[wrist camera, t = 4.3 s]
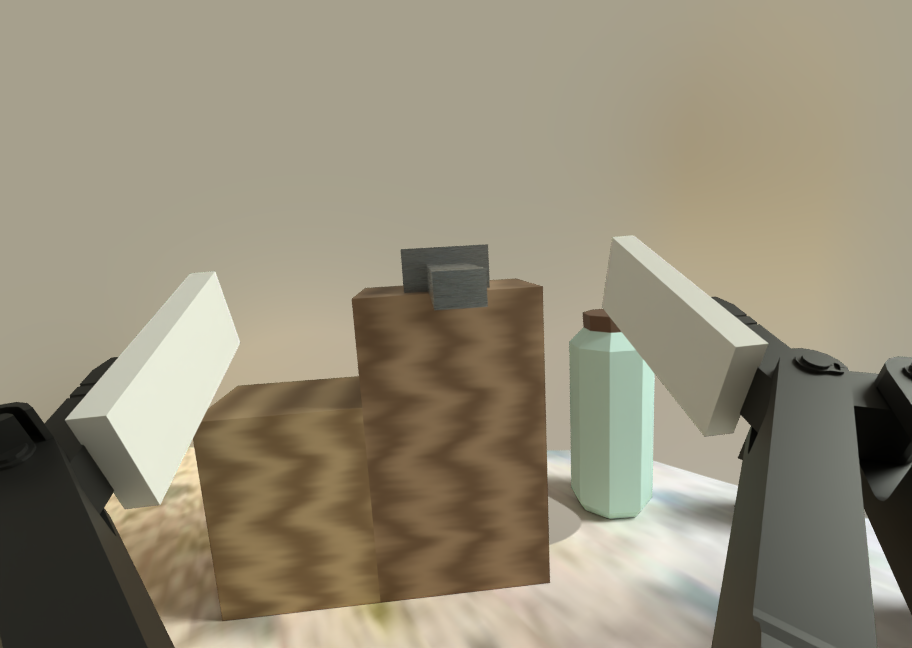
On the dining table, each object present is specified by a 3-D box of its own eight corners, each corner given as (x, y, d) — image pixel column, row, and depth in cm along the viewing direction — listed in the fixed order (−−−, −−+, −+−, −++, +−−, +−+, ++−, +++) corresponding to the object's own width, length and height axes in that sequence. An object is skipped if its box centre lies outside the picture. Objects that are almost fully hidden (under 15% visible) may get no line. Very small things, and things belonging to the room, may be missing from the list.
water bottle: (555, 493, 62) (552, 312, 58) (611, 474, 66) (612, 304, 62) (608, 533, 53) (609, 322, 49) (669, 508, 58) (674, 312, 53)
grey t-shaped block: (399, 312, 29) (394, 250, 29) (405, 286, 50) (402, 249, 49) (521, 304, 30) (519, 242, 29) (478, 281, 51) (476, 245, 50)
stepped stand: (222, 620, 44) (172, 310, 39) (260, 547, 55) (225, 296, 50) (549, 582, 46) (542, 286, 41) (524, 519, 57) (516, 278, 52)
